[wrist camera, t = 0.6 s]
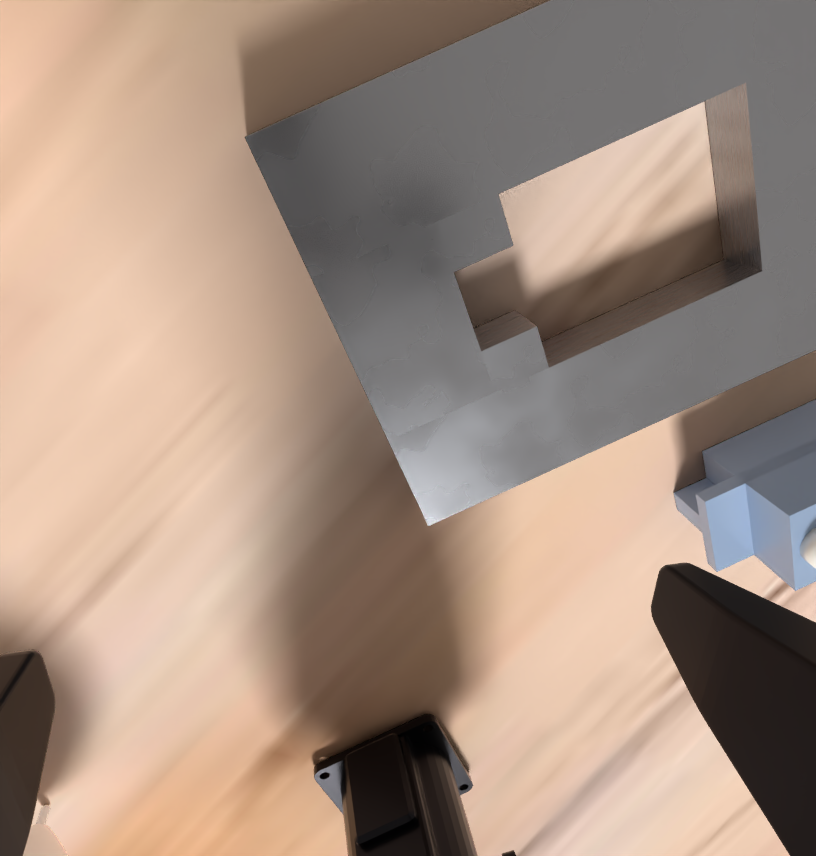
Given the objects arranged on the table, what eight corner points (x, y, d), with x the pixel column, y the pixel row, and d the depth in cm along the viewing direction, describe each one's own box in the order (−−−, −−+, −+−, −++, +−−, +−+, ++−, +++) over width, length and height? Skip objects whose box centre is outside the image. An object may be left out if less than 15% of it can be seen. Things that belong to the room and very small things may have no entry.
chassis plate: (872, -145, 18) (938, -173, 16) (870, 291, 25) (916, 304, 23) (246, 135, 18) (244, 136, 16) (416, 497, 24) (428, 526, 23)
